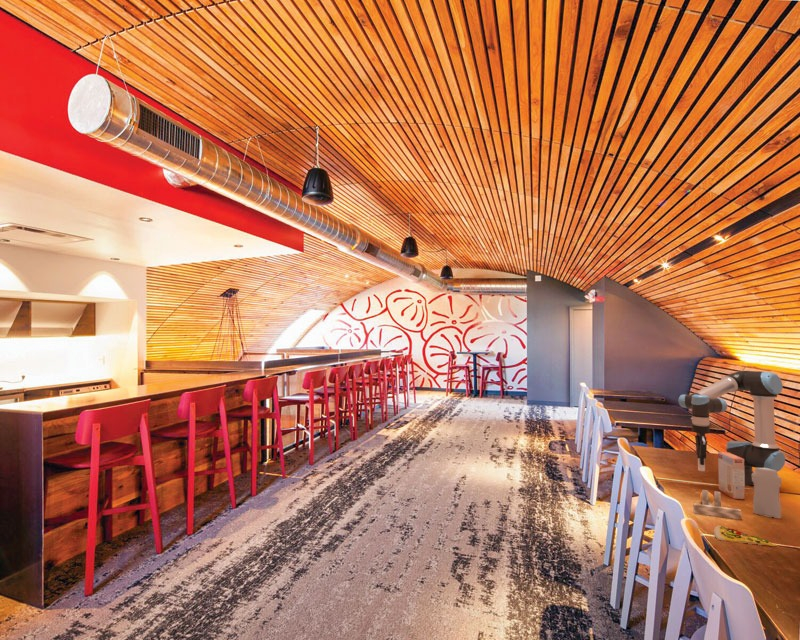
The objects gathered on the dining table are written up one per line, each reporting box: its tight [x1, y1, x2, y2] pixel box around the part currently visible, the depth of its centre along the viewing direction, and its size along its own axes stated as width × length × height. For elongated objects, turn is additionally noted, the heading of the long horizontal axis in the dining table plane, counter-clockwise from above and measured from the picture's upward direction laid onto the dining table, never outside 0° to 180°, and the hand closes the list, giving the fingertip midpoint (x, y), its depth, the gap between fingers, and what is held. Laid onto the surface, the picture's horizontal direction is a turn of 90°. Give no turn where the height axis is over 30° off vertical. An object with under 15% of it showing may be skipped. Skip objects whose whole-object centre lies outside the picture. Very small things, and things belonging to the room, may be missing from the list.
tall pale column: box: [752, 467, 782, 520], centre depth 200 cm, size 11×4×22 cm, turn 54°
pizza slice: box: [712, 524, 779, 548], centre depth 175 cm, size 16×21×3 cm
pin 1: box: [701, 489, 709, 505], centre depth 208 cm, size 2×2×8 cm
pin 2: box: [713, 490, 722, 507], centre depth 206 cm, size 2×2×8 cm
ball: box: [699, 491, 715, 504], centre depth 214 cm, size 6×6×6 cm
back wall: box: [693, 503, 743, 521], centre depth 199 cm, size 18×2×4 cm, turn 68°
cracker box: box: [717, 451, 746, 501], centre depth 228 cm, size 14×6×21 cm, turn 168°
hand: (701, 470), depth 223 cm, fingers closed
